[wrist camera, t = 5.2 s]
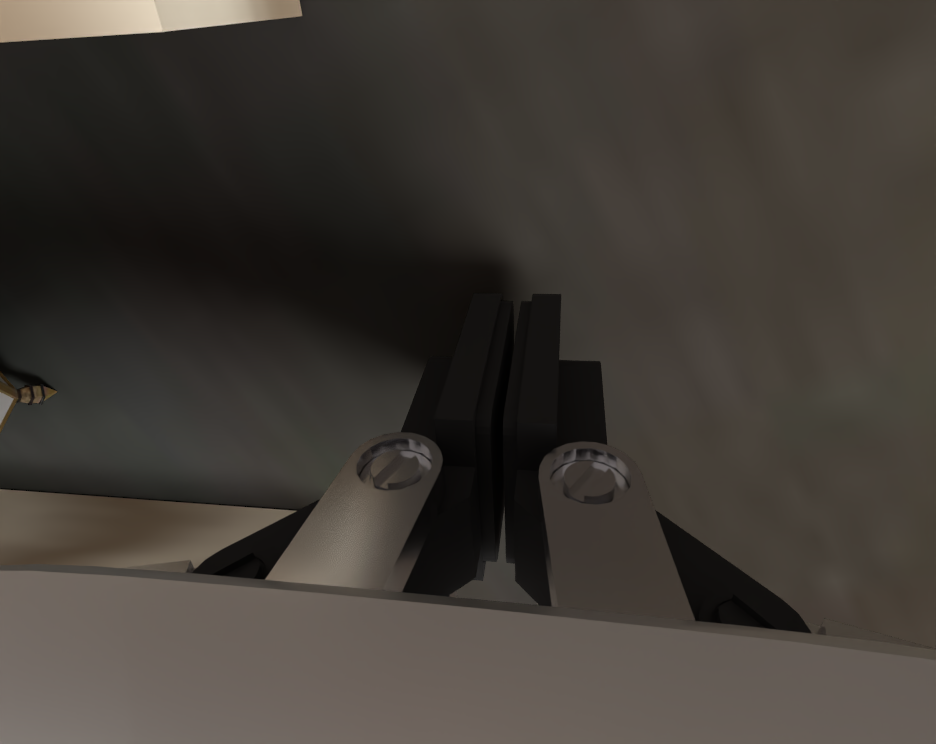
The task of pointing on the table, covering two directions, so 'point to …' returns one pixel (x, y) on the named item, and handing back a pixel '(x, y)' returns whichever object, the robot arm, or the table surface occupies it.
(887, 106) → the table surface
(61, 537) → the chute
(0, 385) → the game die
